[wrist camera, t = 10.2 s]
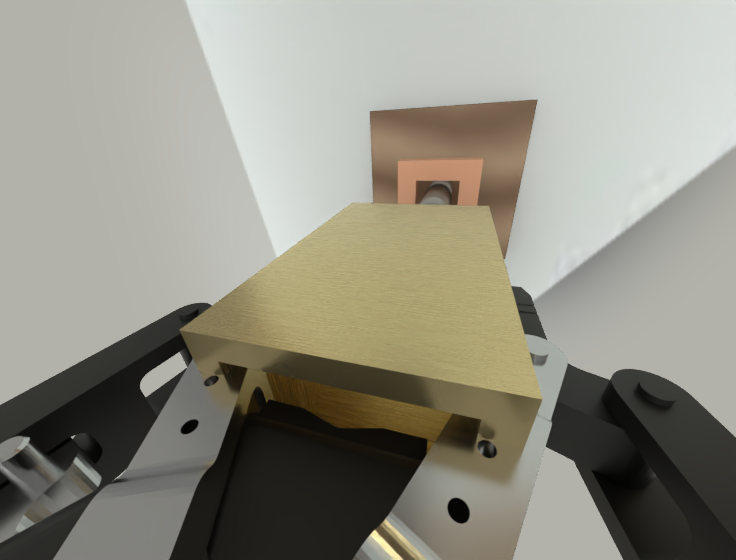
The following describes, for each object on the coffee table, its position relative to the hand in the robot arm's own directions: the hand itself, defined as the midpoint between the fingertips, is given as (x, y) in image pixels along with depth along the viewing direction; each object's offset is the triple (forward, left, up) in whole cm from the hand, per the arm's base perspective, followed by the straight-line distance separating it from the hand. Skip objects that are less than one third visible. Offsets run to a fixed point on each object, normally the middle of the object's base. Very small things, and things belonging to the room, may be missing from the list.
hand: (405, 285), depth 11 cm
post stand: (0, 0, -21) cm, 21 cm away
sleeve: (0, 0, -2) cm, 2 cm away
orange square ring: (0, 0, -16) cm, 16 cm away
